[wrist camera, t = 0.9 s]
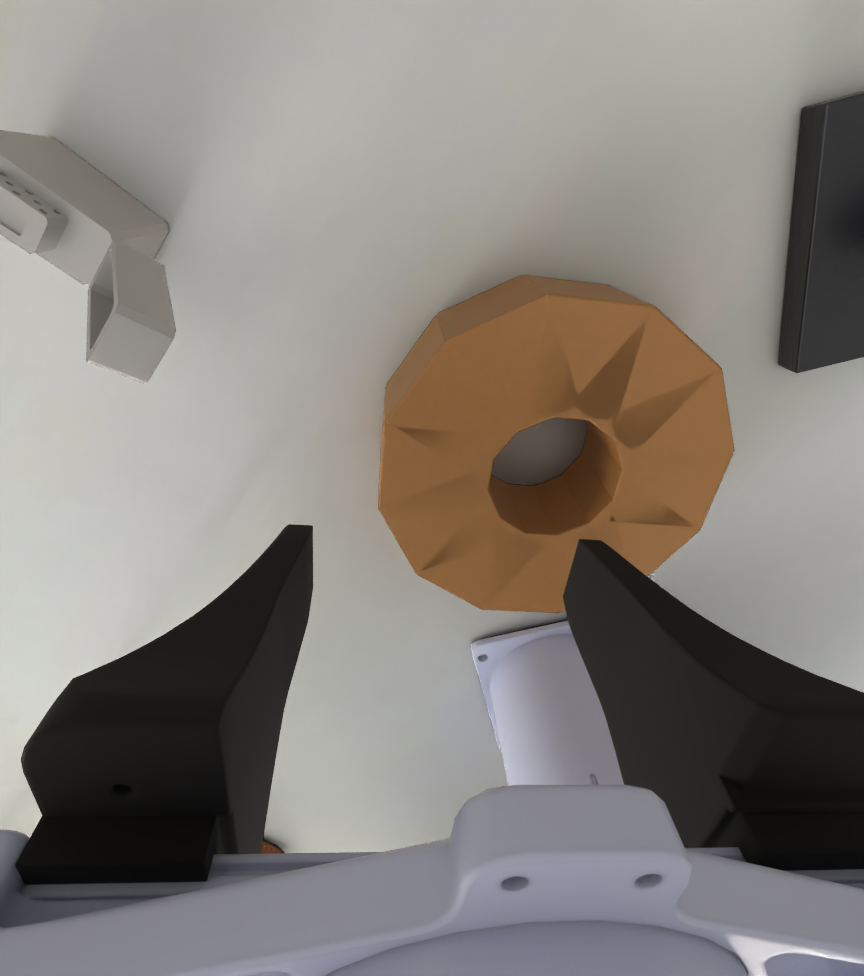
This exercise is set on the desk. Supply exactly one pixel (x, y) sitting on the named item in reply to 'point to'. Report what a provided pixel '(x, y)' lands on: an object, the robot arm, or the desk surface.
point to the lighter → (91, 248)
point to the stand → (826, 239)
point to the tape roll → (529, 401)
